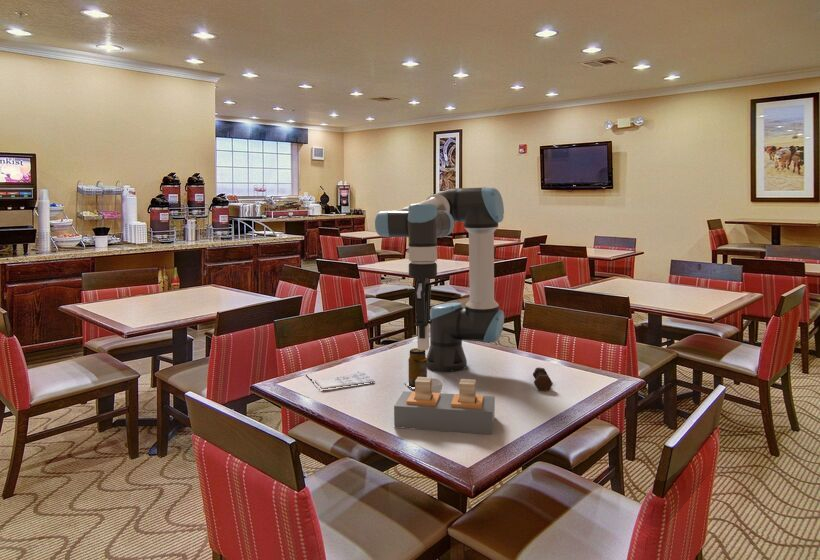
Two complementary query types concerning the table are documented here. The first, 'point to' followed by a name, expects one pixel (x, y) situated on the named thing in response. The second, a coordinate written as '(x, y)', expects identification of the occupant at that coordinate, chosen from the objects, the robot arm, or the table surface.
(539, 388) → the hex dumbbell
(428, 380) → the peg
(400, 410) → the block
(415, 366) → the condiment
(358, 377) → the bicycle print napkin
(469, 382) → the peg
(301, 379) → the table surface
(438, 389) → the teacup
